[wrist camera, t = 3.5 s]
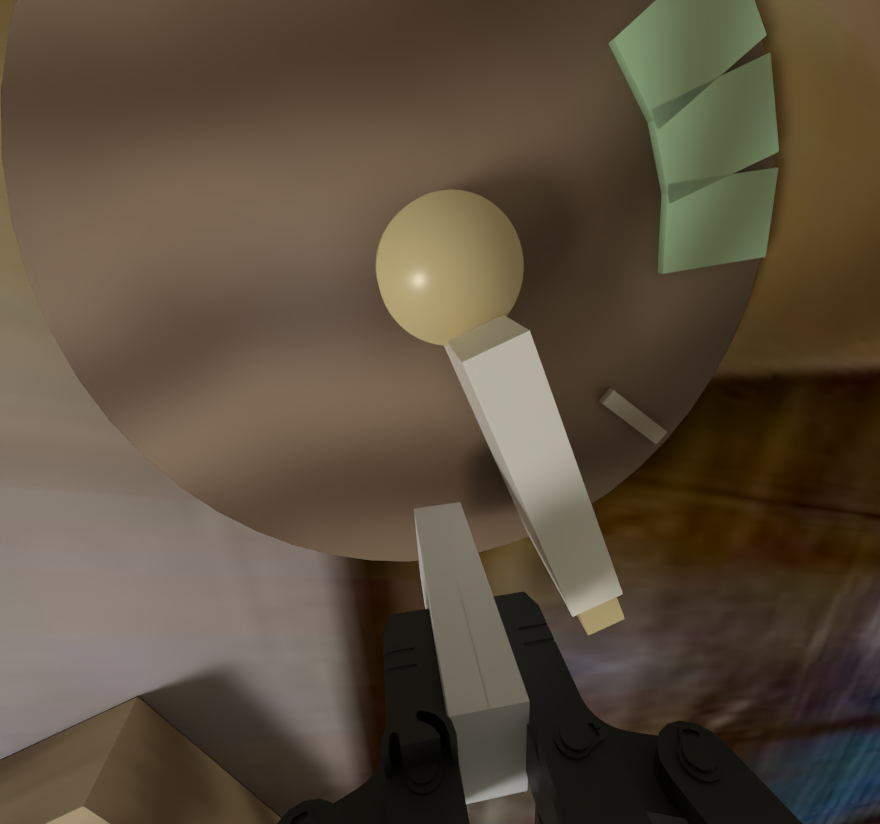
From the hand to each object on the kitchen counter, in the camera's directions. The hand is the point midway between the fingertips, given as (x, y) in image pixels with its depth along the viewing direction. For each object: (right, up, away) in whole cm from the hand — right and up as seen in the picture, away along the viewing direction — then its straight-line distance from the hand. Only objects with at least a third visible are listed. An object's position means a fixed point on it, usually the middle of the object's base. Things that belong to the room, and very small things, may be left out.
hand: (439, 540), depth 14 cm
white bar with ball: (+2, +5, 0) cm, 5 cm away
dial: (0, +9, 0) cm, 9 cm away
